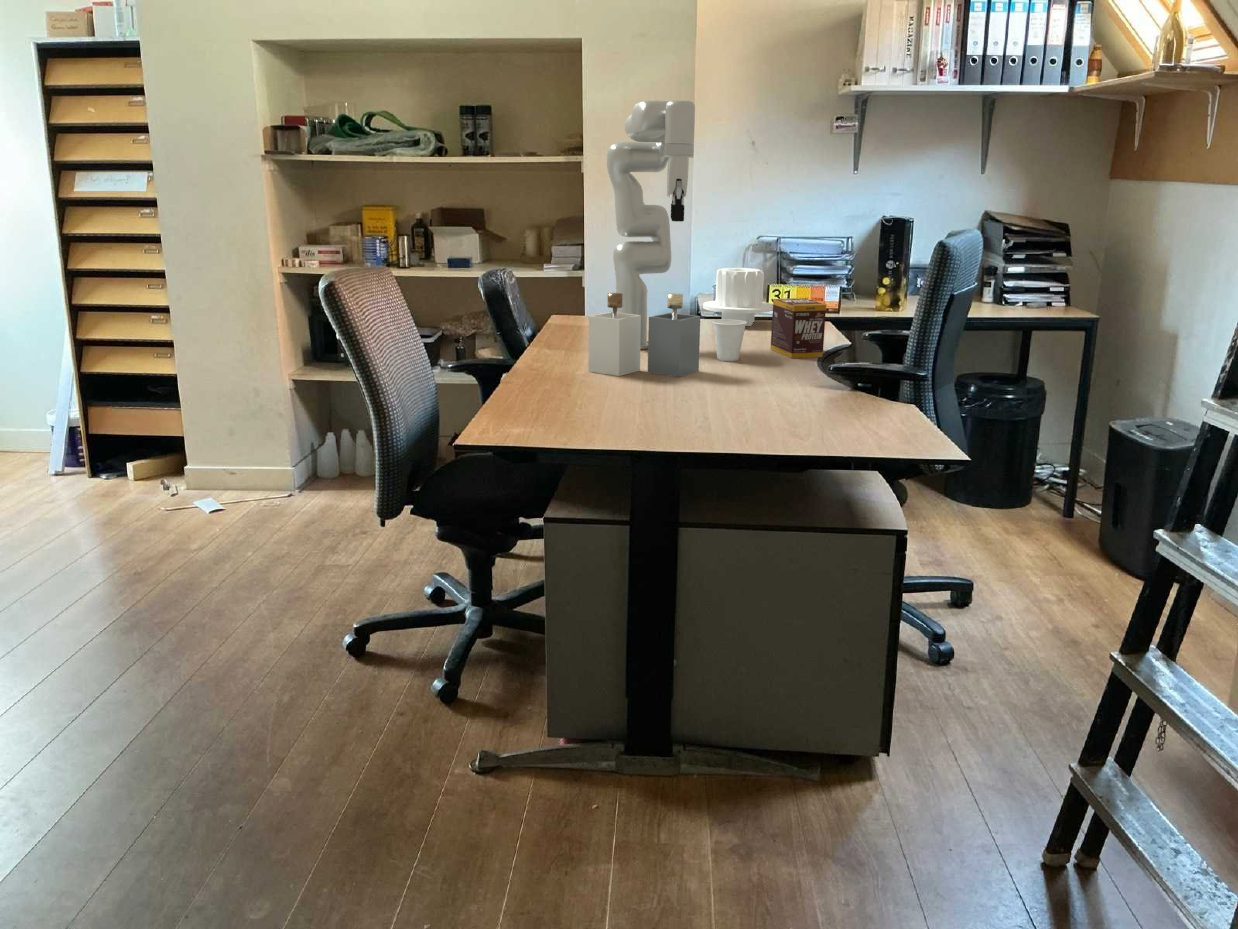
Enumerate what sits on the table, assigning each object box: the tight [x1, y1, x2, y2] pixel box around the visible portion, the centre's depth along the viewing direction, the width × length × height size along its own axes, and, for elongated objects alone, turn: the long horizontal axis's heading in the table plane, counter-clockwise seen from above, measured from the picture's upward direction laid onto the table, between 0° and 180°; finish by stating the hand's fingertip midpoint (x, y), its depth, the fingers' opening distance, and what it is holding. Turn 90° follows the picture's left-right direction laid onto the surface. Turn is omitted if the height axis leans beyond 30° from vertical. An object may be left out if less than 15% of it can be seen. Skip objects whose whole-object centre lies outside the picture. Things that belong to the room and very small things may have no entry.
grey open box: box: [647, 312, 701, 378], centre depth 277 cm, size 10×10×15 cm
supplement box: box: [770, 297, 827, 359], centre depth 307 cm, size 10×15×16 cm
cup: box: [711, 318, 747, 362], centre depth 296 cm, size 10×10×11 cm
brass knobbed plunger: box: [667, 293, 684, 320], centre depth 276 cm, size 8×8×19 cm
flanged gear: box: [702, 267, 773, 327], centre depth 361 cm, size 25×25×19 cm
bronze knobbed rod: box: [607, 292, 623, 319], centre depth 277 cm, size 8×8×19 cm
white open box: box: [588, 311, 641, 377], centre depth 278 cm, size 10×10×15 cm
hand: (677, 220), depth 269 cm, fingers open, 9 cm apart
